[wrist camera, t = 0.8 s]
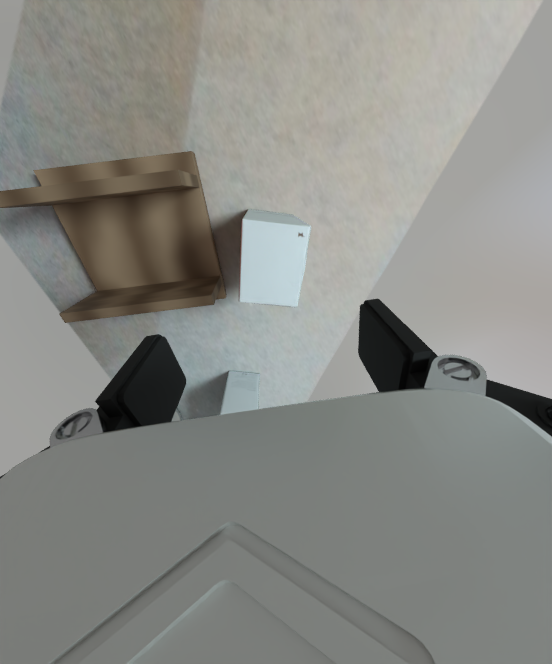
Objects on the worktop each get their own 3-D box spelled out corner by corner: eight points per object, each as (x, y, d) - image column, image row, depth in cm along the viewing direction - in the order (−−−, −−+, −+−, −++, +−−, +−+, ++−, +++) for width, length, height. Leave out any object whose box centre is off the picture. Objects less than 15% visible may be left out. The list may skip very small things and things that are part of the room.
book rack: (194, 153, 28) (169, 137, 20) (226, 294, 37) (218, 321, 29) (43, 171, 28) (-40, 162, 20) (113, 308, 37) (75, 338, 29)
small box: (247, 208, 31) (240, 216, 20) (294, 214, 32) (313, 224, 20) (244, 268, 35) (238, 303, 24) (286, 272, 36) (298, 308, 24)
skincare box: (226, 369, 45) (218, 414, 36) (260, 372, 46) (260, 416, 36) (223, 407, 50) (215, 454, 41) (253, 409, 51) (252, 456, 42)
